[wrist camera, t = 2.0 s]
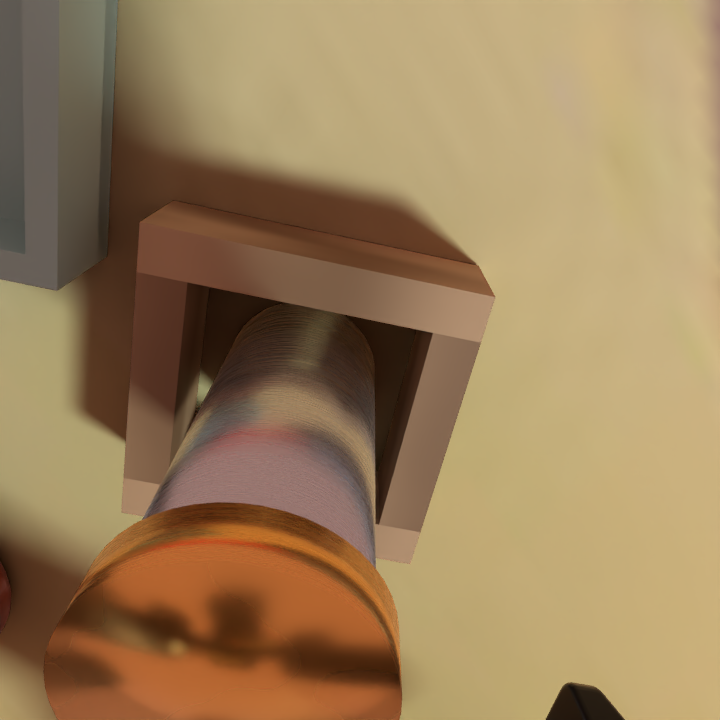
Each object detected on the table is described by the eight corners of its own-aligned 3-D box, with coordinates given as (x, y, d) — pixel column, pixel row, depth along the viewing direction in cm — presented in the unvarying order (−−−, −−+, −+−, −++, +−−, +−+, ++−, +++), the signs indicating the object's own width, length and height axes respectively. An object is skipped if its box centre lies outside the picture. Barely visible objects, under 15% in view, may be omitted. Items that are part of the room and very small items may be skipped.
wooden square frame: (151, 459, 17) (121, 512, 15) (173, 200, 14) (139, 222, 12) (406, 506, 17) (410, 564, 15) (478, 265, 14) (495, 297, 12)
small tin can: (209, 425, 16) (43, 781, 8) (228, 272, 15) (42, 530, 6) (367, 455, 17) (360, 827, 8) (404, 309, 15) (442, 601, 7)
